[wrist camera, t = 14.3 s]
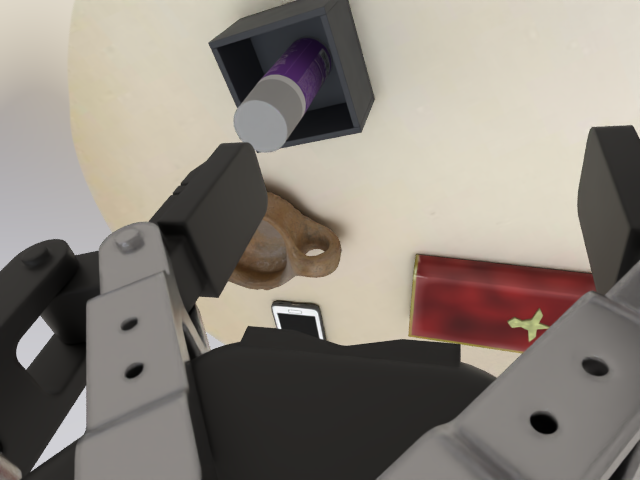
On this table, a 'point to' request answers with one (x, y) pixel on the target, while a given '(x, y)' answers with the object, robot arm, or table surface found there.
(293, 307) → the cell phone
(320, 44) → the container
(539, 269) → the hardcover book
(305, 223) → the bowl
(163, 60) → the table surface
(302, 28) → the bin
